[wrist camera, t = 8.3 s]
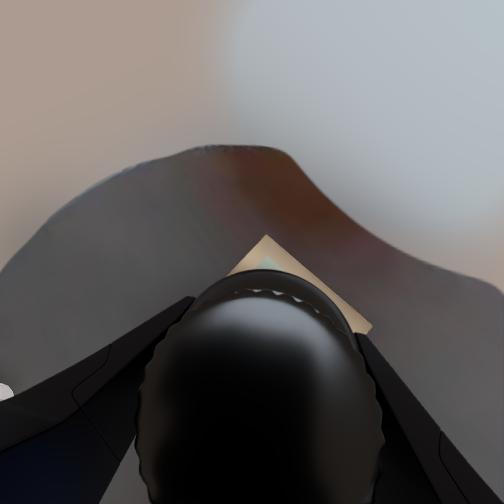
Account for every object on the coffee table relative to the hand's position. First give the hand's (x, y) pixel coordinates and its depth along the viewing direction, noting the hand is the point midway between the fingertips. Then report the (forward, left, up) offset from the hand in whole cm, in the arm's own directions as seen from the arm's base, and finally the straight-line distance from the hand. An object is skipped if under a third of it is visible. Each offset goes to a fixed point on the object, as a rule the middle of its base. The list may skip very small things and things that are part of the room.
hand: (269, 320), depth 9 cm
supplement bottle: (-1, -1, -7) cm, 7 cm away
